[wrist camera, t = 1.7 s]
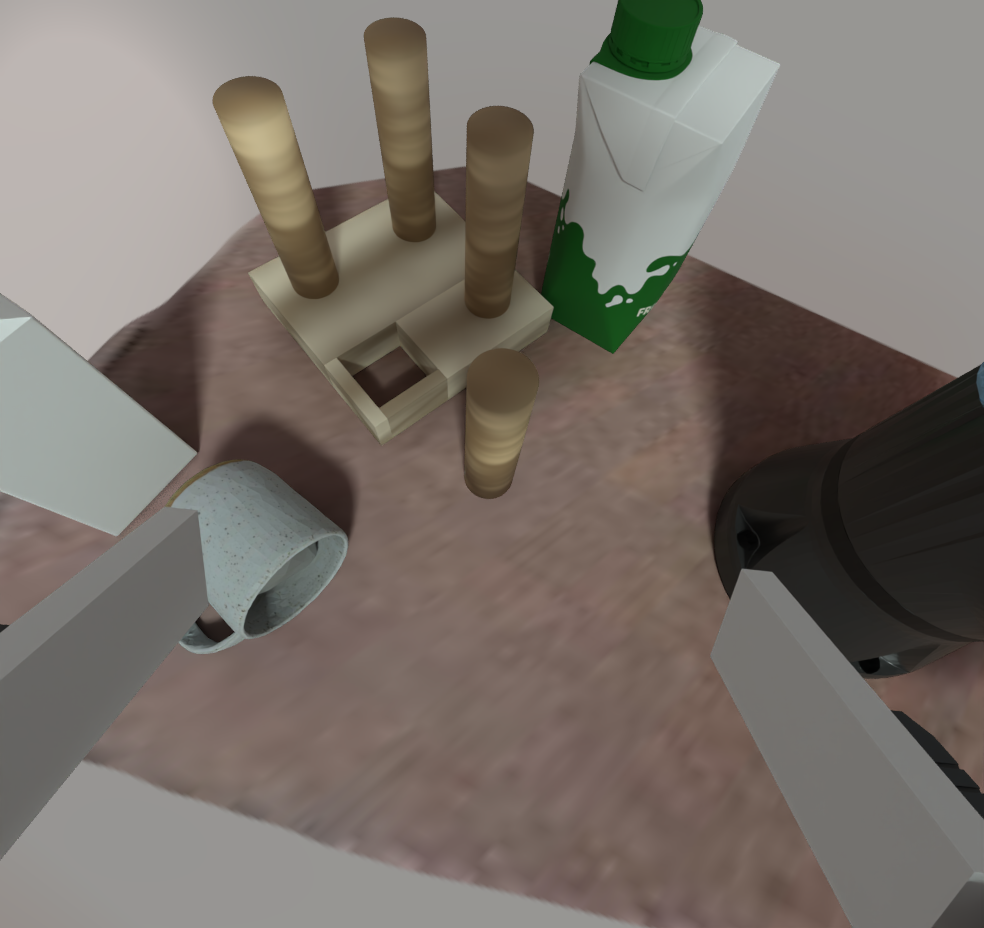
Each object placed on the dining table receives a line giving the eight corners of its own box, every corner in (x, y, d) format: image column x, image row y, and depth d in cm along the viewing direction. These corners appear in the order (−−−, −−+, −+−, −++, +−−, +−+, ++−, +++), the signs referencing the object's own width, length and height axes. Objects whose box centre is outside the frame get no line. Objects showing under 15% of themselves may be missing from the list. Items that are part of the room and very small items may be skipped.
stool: (547, 331, 41) (597, 139, 26) (381, 445, 36) (327, 292, 22) (425, 210, 45) (408, -15, 30) (262, 300, 40) (148, 86, 26)
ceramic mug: (273, 475, 35) (224, 427, 28) (361, 549, 34) (333, 519, 27) (146, 599, 32) (53, 581, 25) (237, 687, 30) (166, 695, 23)
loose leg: (522, 479, 36) (553, 384, 24) (485, 508, 35) (498, 424, 23) (491, 444, 37) (507, 336, 25) (454, 472, 36) (452, 373, 24)
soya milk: (575, 246, 44) (659, -57, 26) (668, 296, 43) (826, 14, 24) (521, 313, 42) (571, 25, 23) (618, 369, 40) (756, 111, 22)
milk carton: (125, 402, 37) (-185, 154, 19) (200, 454, 35) (-55, 241, 18) (41, 480, 34) (-404, 278, 17) (119, 538, 33) (-270, 389, 15)
